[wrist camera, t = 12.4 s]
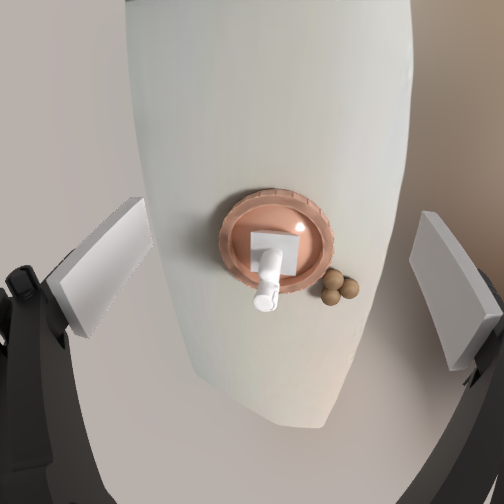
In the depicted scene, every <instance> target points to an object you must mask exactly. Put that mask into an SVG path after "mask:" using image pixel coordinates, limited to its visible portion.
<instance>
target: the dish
mask: <svg viewBox="0 0 504 504" xmlns="http://www.w3.org/2000/svg"><path fill="white" fill-rule="evenodd" d="M259 230H272V231H284V232H291V233H293V234H296V235H298V236H300V239H299V248H298V258H297V267H296V276H292V275H281V274H280V277H279V284H280V285H279V293H278V294H280V293H286V294H288V292H289V293H292V292H295V291H301V289H302V290H303V289H305V288H306V287H308V286H311V285H313V283H314V284H315V283H316V281H317V280H318V279H320V278H321V277H322V276H323V275H324V274H325V272H326V270H327V269H328V267H329V266H330V264H331V260H332V257H333V254H334V246H333V244H334V237H333V231H332V229H331V228H330V225H329V220H328V218H327V217H326V216H325V215H324V213H323V212H322V211H321V209H320V208H319V207H318V206H317V205H316V204H315V203H314V202H312V201H311V200H309V199H308V198H307V197H305V196H303V195H301V194H298V193H296V192H293V191H289V190H283V189H267V190H262V191H258V192H255V193H253V194H250V195H247V197H246V196H245V197H244V198H243V199H242V200H241V201H239V202H238V203H236V204H235V205H234V206H233V208H232V210H231V211H230V212H229V213H228V214H227V215H226V217H225V219H224V221H223V224H222V228H221V230H220V232H219V249H220V252H221V258H222V260H223V261H224V263H225V264H226V266H227V269H229V271H230V272H231V273H232V274H233V275H234V276H235V277H236V279H238V280H239V281H241V282H243V283H244V284H246V285H247V286H250V287H251V288H254V289H257V290H258V286H259V280H260V277H259V275H258V272H251V232H254V231H259Z"/></svg>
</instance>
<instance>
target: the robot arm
mask: <svg viewBox="0 0 504 504" xmlns="http://www.w3.org/2000/svg"><path fill="white" fill-rule="evenodd" d="M152 247H153V240H152V236H151V231H150V228H149V222H148V217H147V213H146V208H145V203H144V198H143V197H131V198H129V199H128V200H127V201H126V202H125V203H124V204H123V205H121V206H120V207H119V208H118V209H117V210H116V211H115V212H113V213H112V214H111V215H110V216H109V217H108V218H107V219H106V220H105V221H104V222H103V223H101V224H100V225H99V226H98V227H97V228H96V229H95V230H94V231H93V232H92V233H91V234H90V235H89V236H88V237H87V238H86V239H85V240H84V241H83V242H82V243H81V244H80V245H79V246H78V247H77V248H76V249H74V250H72V251H71V252H70V253H69V254H68V255H67V256H66V257H65V258H64V260H62V261H61V262H60V263H59V265H58V266H57V267H56V268H54V270H53V271H52V272H51V273H50V274H49V275H48V276H47V277H46V278H45V279H44V280H43V282H42V283H41V284H40V283H39V281H38V279H37V277H36V275H35V272H34V270H33V268H32V267H31V266H30V265H25V266H21V267H19V268H17V269H15V270H14V271H13V272H11V273H10V274H9V275H8V277H7V278H6V280H5V282H6V284H7V286H8V288H9V290H10V292H11V294H12V295H13V297H8V295H7V294H6V292H5V290H4V289H3V288H0V334H1V336H2V337H3V339H4V340H5V342H4V345H2V344H1V343H0V504H117V503H116V502H115V500H114V499H113V498H112V497H111V495H109V493H108V492H107V490H106V489H105V487H104V485H103V482H102V480H101V477H100V474H99V471H98V468H97V465H96V462H95V459H94V457H93V453H92V450H91V447H90V443H89V440H88V437H87V433H86V429H85V425H84V422H83V417H82V413H81V409H80V405H79V400H78V395H77V390H76V385H75V380H74V374H73V368H72V362H71V355H70V347H69V339H68V335H67V333H66V331H65V329H66V328H67V326H68V325H70V327H71V329H72V330H73V332H74V334H75V335H78V336H81V337H85V338H88V339H89V338H90V336H91V335H92V333H93V332H94V330H95V328H96V327H97V325H98V324H99V322H100V321H101V319H102V318H103V316H104V315H105V313H106V312H107V310H108V309H109V307H110V306H111V304H112V303H113V301H114V300H115V298H116V297H117V295H118V294H119V292H120V291H121V289H122V288H123V287H124V285H125V284H126V282H127V281H128V280H129V278H130V277H131V275H132V274H133V272H134V271H135V270H136V268H137V267H138V265H139V264H140V263H141V261H142V260H143V259H144V257H145V256H146V255H147V253H148V252H149V251H150V249H151V248H152ZM409 262H410V264H411V266H412V269H413V271H414V273H415V276H416V278H417V280H418V283H419V285H420V287H421V290H422V292H423V295H424V297H425V300H426V302H427V305H428V307H429V310H430V313H431V315H432V318H433V321H434V323H435V326H436V329H437V332H438V335H439V338H440V340H441V344H442V347H443V350H444V353H445V356H446V360H447V363H448V366H449V370H450V371H454V370H463V369H467V367H468V366H469V365H470V363H471V362H472V360H473V359H475V362H476V365H477V367H476V368H475V369H474V371H473V372H472V373H471V375H470V376H469V377H468V378H467V380H466V381H465V382H464V383H463V385H464V386H465V385H466V384H467V382H468V384H467V386H466V389H465V391H464V393H463V395H462V397H461V400H460V402H459V404H458V406H457V408H456V410H455V412H454V414H453V416H452V418H451V420H450V422H449V423H448V425H447V427H446V429H445V431H444V433H443V434H442V436H441V438H440V440H439V441H438V443H437V445H436V446H435V448H434V450H433V451H432V453H431V455H430V456H429V458H428V459H427V461H426V463H425V464H424V465H423V467H422V469H421V470H420V472H419V473H418V474H417V476H416V477H415V479H414V480H413V481H412V483H411V484H410V486H409V487H408V489H407V490H406V491H405V492H404V494H403V495H402V496H401V497H400V499H399V500H398V501H397V503H396V504H483V503H484V501H485V500H486V498H487V495H488V494H489V492H490V490H491V488H492V485H493V483H494V481H495V479H496V477H497V475H498V477H497V481H496V485H495V488H494V492H493V495H492V498H491V502H490V504H504V303H503V301H502V300H501V297H500V296H499V295H498V293H497V291H496V289H495V288H493V284H492V283H491V281H490V279H489V278H488V277H487V276H486V275H485V274H484V273H483V272H482V271H481V270H480V269H476V267H475V266H474V264H473V263H472V261H471V260H470V258H469V257H468V255H467V254H466V252H465V251H464V249H463V248H462V246H461V245H460V244H459V242H458V241H457V239H456V238H455V237H454V235H453V234H452V233H451V231H450V230H449V229H448V227H447V226H446V225H445V223H444V222H443V221H442V219H441V218H440V217H439V216H438V214H437V213H436V212H429V211H422V214H421V218H420V222H419V226H418V230H417V234H416V238H415V241H414V245H413V248H412V252H411V255H410V258H409Z"/></svg>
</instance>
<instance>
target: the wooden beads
mask: <svg viewBox="0 0 504 504" xmlns="http://www.w3.org/2000/svg"><path fill="white" fill-rule="evenodd" d="M323 283H324V285H325V288H324V289H323V290H322V293H321V299H322V301H323V303H325V304H326V305H329V306H333V305H335V304H337V303H338V302H339V300H340V298H341V295H342V296H343V297H344V298H346V299H352V298H354V297H356V296H357V294H358V293H359V284H358V283H357V281H355V280H354V279H350V278H349V279H345V280H344V278H343V275H342V273H341V272H340V271H338V270H335V269H332V270H329V271H327V272H326V273H325V275H324V277H323Z"/></svg>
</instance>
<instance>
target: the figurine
mask: <svg viewBox="0 0 504 504" xmlns="http://www.w3.org/2000/svg"><path fill="white" fill-rule="evenodd" d="M299 239H300V236H298V235H296V234H293V233H291V232H284V231H272V230H259V231H254V232H251V272H258V275H259V277H260V280H259V286H258V290H257V291H256V294H255V296H254V299H253V305H254V307H255V308H256V309H258V310H260V311H263V312H267V311H270V310H272V311H273V310H275V308H276V307H277V301H278V293H279V285H280V284H279V277H280V274H281V275H292V276H296V267H297V258H298V248H299Z"/></svg>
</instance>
